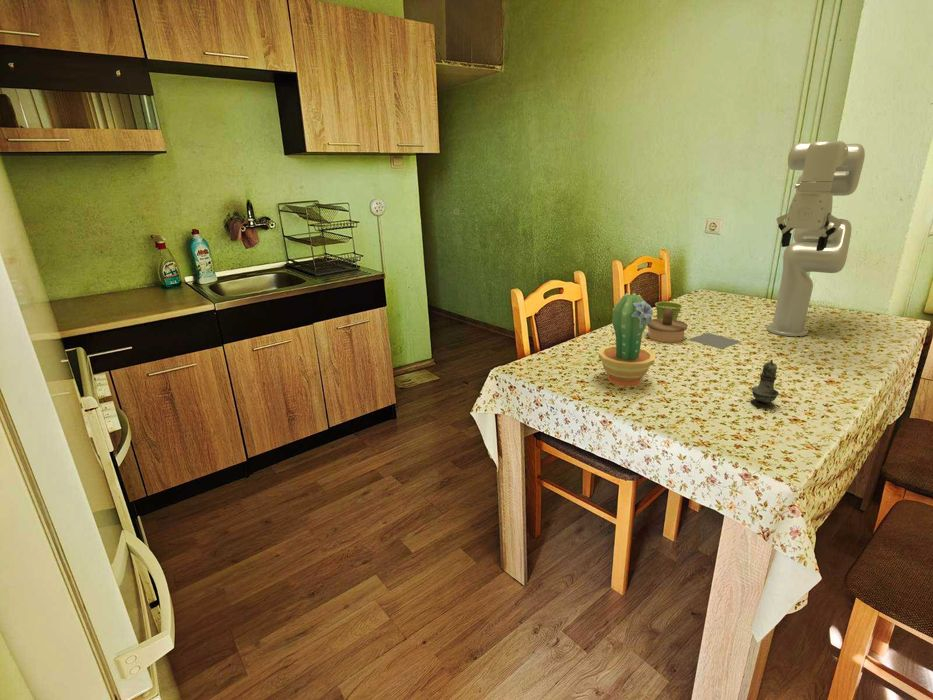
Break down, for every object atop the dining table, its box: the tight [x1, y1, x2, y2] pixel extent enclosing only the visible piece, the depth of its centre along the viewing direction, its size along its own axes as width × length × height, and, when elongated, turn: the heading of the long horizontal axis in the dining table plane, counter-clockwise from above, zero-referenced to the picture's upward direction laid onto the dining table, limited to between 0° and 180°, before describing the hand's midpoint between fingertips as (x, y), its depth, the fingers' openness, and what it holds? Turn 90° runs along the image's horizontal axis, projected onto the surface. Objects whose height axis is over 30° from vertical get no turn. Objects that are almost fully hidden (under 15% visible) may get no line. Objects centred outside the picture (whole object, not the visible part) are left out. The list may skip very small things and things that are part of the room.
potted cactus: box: [597, 292, 656, 388], centre depth 133 cm, size 15×15×25 cm
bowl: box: [647, 327, 685, 343], centre depth 168 cm, size 11×11×5 cm
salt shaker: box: [750, 359, 780, 410], centre depth 119 cm, size 6×6×12 cm
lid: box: [646, 309, 688, 332], centre depth 166 cm, size 13×13×6 cm
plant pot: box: [654, 301, 683, 320], centre depth 181 cm, size 9×9×9 cm
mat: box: [687, 332, 742, 350], centre depth 164 cm, size 12×12×1 cm
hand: (802, 248), depth 144 cm, fingers open, 9 cm apart
